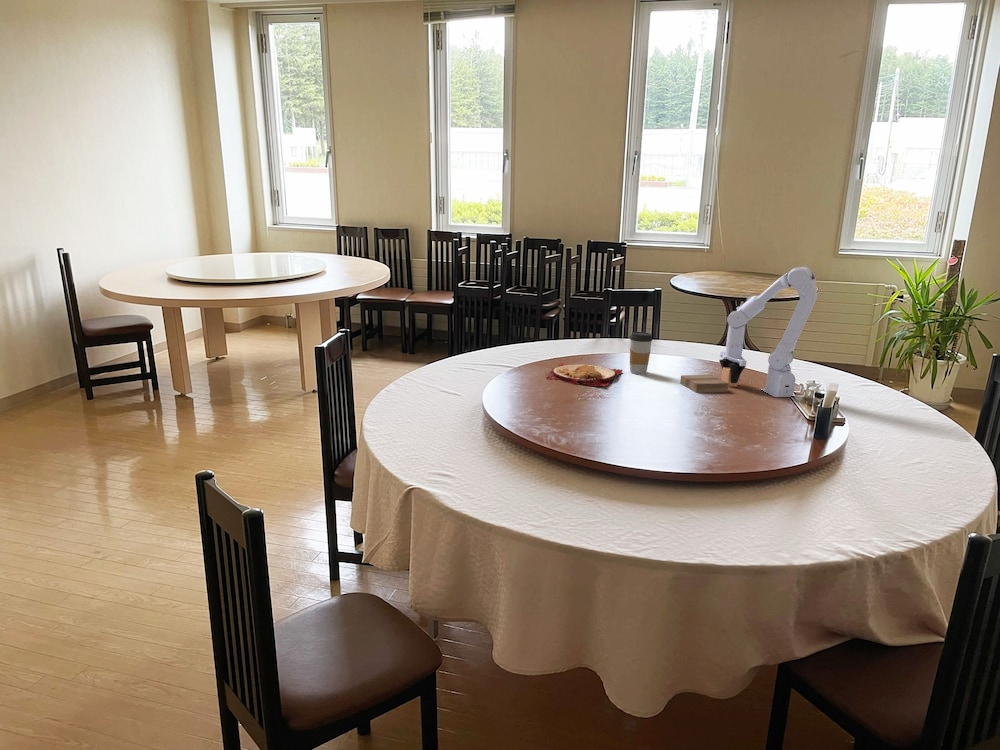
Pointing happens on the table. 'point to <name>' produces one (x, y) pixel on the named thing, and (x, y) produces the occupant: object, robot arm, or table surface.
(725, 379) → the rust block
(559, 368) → the plate with food
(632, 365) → the coffee cup
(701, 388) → the walnut stand
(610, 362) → the table surface
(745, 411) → the table surface
